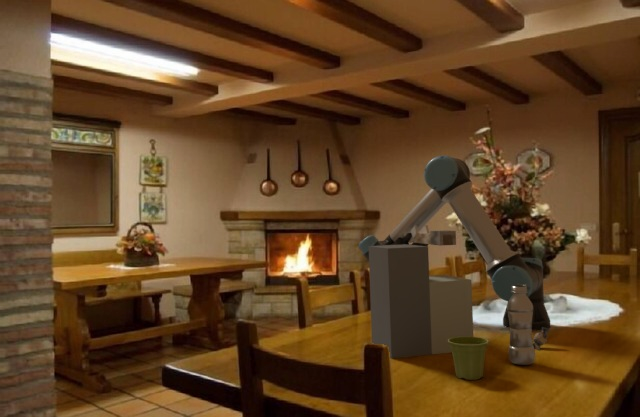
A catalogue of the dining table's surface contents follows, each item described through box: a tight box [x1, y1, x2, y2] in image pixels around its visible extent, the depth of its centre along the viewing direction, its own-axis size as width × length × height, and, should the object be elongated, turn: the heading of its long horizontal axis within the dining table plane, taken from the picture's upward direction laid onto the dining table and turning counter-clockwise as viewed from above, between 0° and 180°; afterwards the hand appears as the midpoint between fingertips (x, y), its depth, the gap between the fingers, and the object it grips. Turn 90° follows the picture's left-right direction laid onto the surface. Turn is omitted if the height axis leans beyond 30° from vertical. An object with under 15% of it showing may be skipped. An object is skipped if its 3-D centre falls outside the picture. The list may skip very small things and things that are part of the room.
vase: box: [533, 327, 551, 351], centre depth 156 cm, size 5×5×6 cm
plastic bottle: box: [506, 285, 536, 366], centre depth 140 cm, size 6×7×20 cm
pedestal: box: [368, 244, 474, 359], centre depth 160 cm, size 16×25×30 cm, turn 104°
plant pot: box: [448, 336, 489, 381], centre depth 130 cm, size 9×9×9 cm
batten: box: [404, 229, 457, 246], centre depth 168 cm, size 28×5×4 cm, turn 14°
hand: (421, 229), depth 171 cm, fingers closed on batten, 3 cm apart
